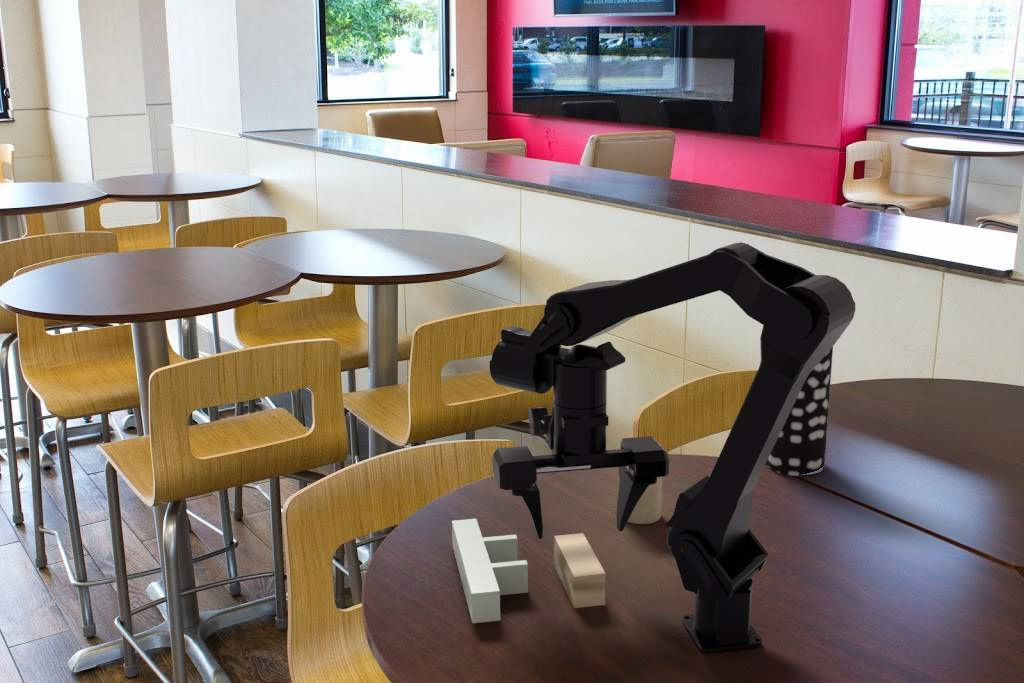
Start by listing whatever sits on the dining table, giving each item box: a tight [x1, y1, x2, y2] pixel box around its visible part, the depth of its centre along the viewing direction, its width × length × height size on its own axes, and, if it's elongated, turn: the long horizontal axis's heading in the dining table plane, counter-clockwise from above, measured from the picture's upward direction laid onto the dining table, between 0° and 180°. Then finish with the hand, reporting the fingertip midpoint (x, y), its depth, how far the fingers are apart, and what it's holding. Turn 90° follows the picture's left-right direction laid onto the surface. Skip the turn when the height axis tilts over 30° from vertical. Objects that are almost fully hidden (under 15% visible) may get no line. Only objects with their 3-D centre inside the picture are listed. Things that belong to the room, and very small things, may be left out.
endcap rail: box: [451, 518, 529, 624], centre depth 117 cm, size 18×7×4 cm, turn 10°
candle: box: [627, 477, 663, 525], centre depth 131 cm, size 6×6×10 cm
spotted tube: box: [765, 346, 834, 477], centre depth 146 cm, size 8×8×20 cm
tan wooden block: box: [553, 532, 607, 609], centre depth 115 cm, size 10×4×4 cm, turn 10°
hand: (579, 533), depth 114 cm, fingers open, 9 cm apart
